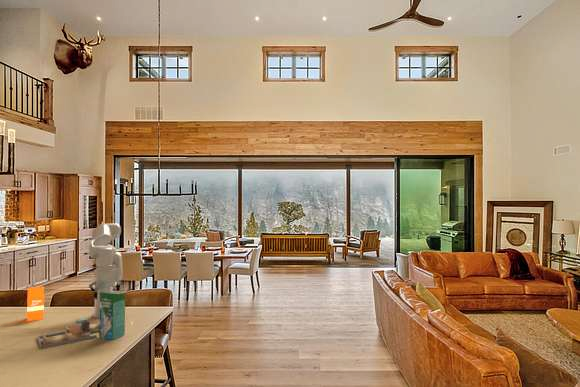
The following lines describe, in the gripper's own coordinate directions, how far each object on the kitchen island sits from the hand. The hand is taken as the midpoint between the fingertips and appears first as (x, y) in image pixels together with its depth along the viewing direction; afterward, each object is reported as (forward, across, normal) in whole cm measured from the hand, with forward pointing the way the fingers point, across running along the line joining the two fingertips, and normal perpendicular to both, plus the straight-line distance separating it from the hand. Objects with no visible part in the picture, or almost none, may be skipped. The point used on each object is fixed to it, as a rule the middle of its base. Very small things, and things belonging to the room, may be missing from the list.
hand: (104, 297), depth 219 cm
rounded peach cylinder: (+15, +16, +10) cm, 24 cm away
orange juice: (+20, +30, -47) cm, 59 cm away
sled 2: (+18, +9, +1) cm, 20 cm away
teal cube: (+15, +12, +1) cm, 20 cm away
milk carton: (+18, 0, +19) cm, 26 cm away
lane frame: (+18, +20, +6) cm, 27 cm away
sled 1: (+18, +21, +10) cm, 29 cm away
